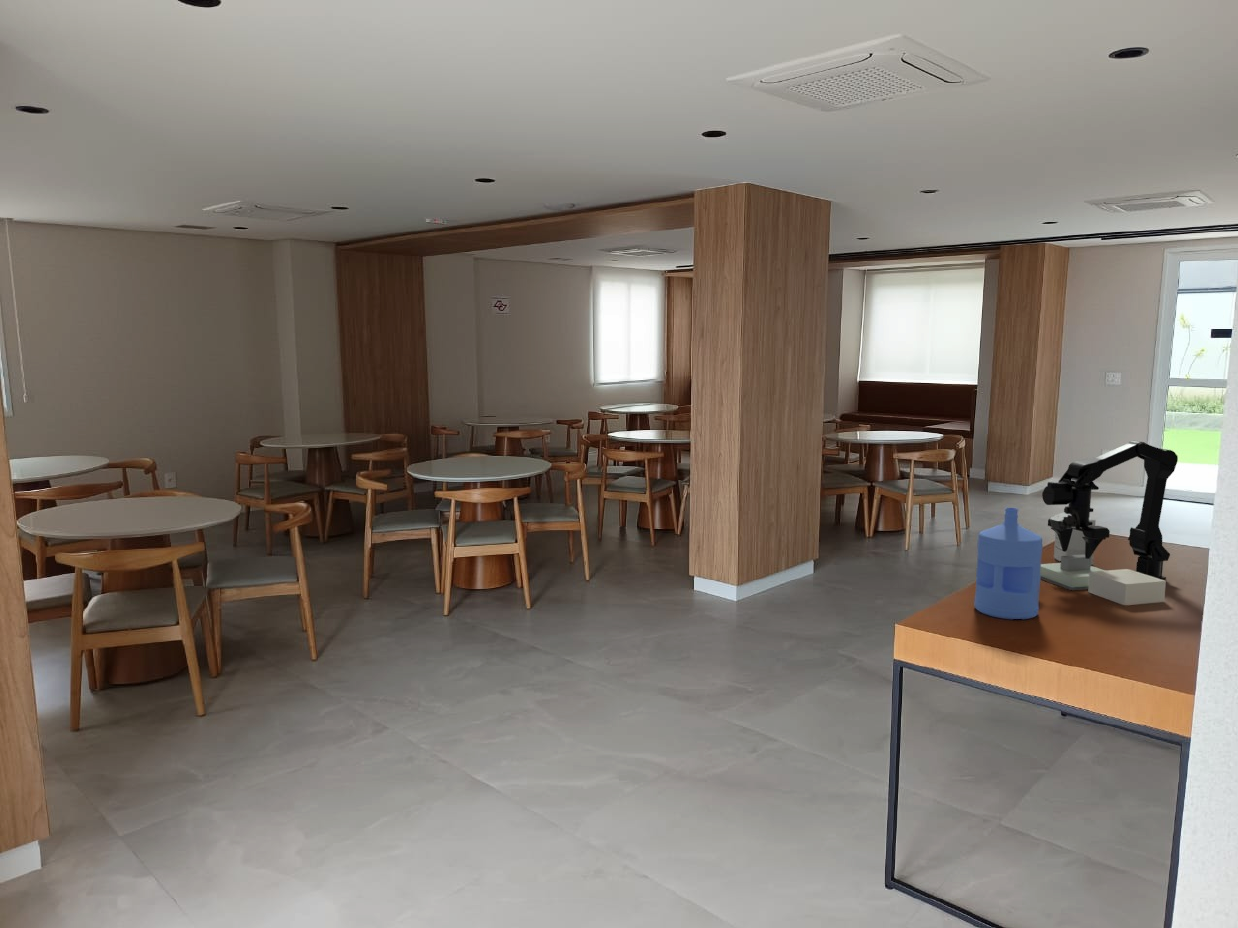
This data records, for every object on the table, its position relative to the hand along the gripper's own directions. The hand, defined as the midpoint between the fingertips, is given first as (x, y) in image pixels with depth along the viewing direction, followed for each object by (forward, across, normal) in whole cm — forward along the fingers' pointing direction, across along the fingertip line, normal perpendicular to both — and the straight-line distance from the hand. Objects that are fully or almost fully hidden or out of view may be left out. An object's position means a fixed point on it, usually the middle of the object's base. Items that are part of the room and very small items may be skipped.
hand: (1075, 554), depth 251 cm
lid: (+7, 0, 0) cm, 7 cm away
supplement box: (+8, -19, +16) cm, 26 cm away
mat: (+8, 0, 0) cm, 8 cm away
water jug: (+8, +21, -40) cm, 46 cm away
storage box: (+8, +18, +1) cm, 20 cm away
